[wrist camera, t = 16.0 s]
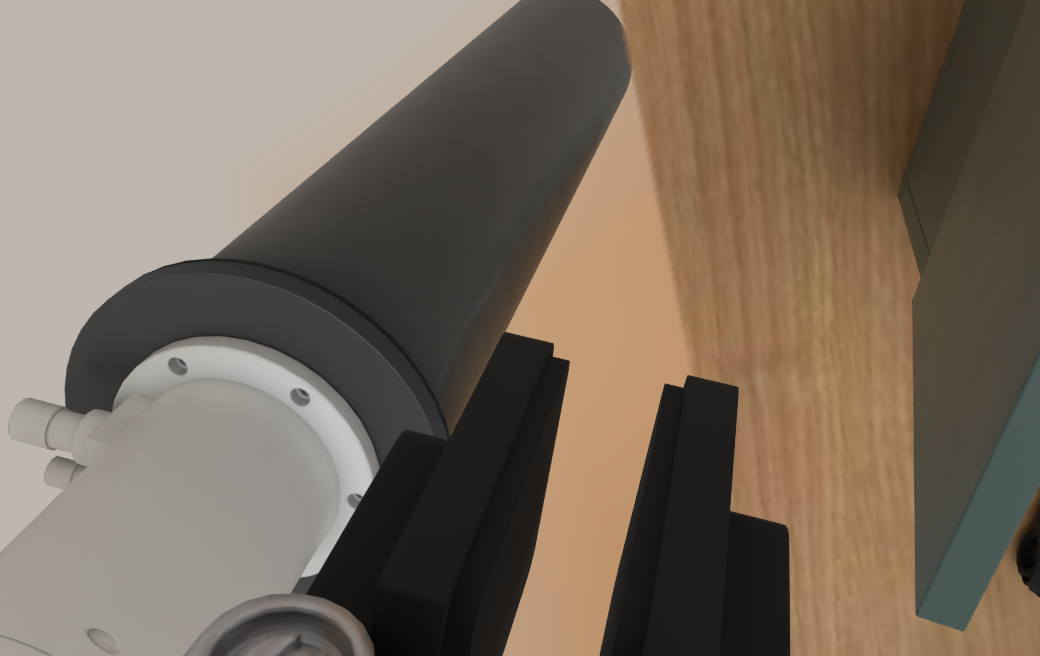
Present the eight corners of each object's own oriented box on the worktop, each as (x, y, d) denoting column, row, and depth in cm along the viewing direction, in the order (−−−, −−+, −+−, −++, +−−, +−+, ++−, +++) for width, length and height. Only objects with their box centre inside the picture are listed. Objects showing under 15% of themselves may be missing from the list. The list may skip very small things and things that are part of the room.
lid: (1264, 50, 11) (1188, 35, 12) (964, 633, 16) (914, 617, 16) (1094, -70, 22) (1055, -76, 22) (942, 309, 27) (911, 301, 27)
